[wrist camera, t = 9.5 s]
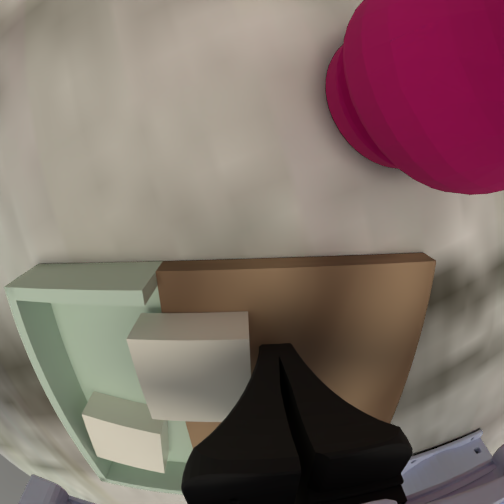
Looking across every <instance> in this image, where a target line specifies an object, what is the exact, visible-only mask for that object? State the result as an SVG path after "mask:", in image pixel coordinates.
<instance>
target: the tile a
mask: <svg viewBox="0 0 504 504" xmlns="http://www.w3.org/2000/svg"><path fill="white" fill-rule="evenodd" d="M82 417H83V420H84V423H85V426H86V429H87V431H88V434H89V437H90V440H91V442H92V445H93V448H94V450H95V453H96V455H97V457H100V458H104V459H107V460H110V461H114V462H117V463H121V464H125V465H129V466H133V467H137V468H141V469H145V470H150V471H155V472H159V473H165V469H166V464H167V459H168V454H169V438H168V421H167V420H157V419H152V417H151V414H150V411H149V409H148V406H147V404H143V403H139V402H134V401H130V400H126V399H122V398H118V397H114V396H110V395H106V394H102V393H99V392H95V391H93V393H92V395H91V397H90V399H89V401H88V403H87V404H86V406H85V408H84V410H83V412H82Z"/></svg>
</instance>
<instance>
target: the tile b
mask: <svg viewBox="0 0 504 504" xmlns="http://www.w3.org/2000/svg"><path fill="white" fill-rule="evenodd" d="M126 340H127V343H128V347H129V351H130V354H131V357H132V361H133V364H134V367H135V370H136V374H137V377H138V380H139V383H140V386H141V389H142V392H143V395H144V398H145V400H146V403H147V406H148V409H149V411H150V414H151V417H152V419H157V420H170V421H190V422H222V421H223V420H224V419H225V418H226V417H227V415H228V414H229V413H230V412H231V410H232V409H233V407H234V406H235V405H236V403H237V402H238V400H239V399H240V397H241V395H242V394H243V392H244V390H245V388H246V386H247V384H248V382H249V380H250V378H251V364H250V343H249V321H248V311H243V312H211V313H141V314H140V316H139V317H138V319H137V321H136V323H135V324H134V326H133V328H132V330H131V332H130V333H129V335H128V337H127V339H126Z"/></svg>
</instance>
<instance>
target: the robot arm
mask: <svg viewBox="0 0 504 504" xmlns="http://www.w3.org/2000/svg"><path fill="white" fill-rule="evenodd" d="M482 434H483V431H482V430H479V431H476V432H474V433H472V434H470V435H467V436H465V437H463V438H461V439H458V440H456V441H453V442H451V443H448V444H446V445H443V446H440V447H438V448H435V449H432V450H430V451H427V452H424V453H421V454H418V455H415V456H412V457H411V455H412V447H411V445H410V443H409V441H408V439H407V437H406V436H405V434H404V433H403V432H402V430H401V428H400V427H398V426H395V425H392V424H389V423H387V422H384V421H381V420H379V419H377V418H375V417H372V416H370V415H368V414H366V413H364V412H363V411H361V410H359V409H357V408H356V407H354V406H353V405H351V404H349V403H348V402H346V401H345V400H343V399H342V398H341V397H339V396H338V395H337V394H336V393H334V392H333V391H332V390H331V389H330V388H329V387H327V386H326V385H325V384H324V383H323V382H322V381H321V380H320V379H319V378H318V377H317V376H316V375H315V374H314V372H313V371H312V370H311V369H310V368H309V367H308V366H307V364H306V363H305V362H304V361H303V359H302V358H301V357H300V355H299V354H298V353H297V351H296V350H295V348H294V347H293V345H292V344H291V343H283V344H262V345H260V346H259V354H258V358H257V362H256V365H255V368H254V370H253V373H252V376H251V378H250V380H249V382H248V384H247V386H246V388H245V390H244V392H243V394H242V395H241V397H240V399H239V400H238V402H237V403H236V405H235V406H234V407H233V409H232V410H231V412H230V413H229V414H228V415H227V417H226V418H225V419H224V420H223V421H222V422H221V423H220V424H219V426H218V427H217V428H216V429H215V430H214V431H213V432H212V433H211V434H210V435H209V436H207V437H206V438H205V439H204V440H203V441H201V442H200V443H199V444H198V445H197V446H195V447H194V448H193V450H192V452H191V454H190V456H189V458H188V460H187V463H186V465H185V469H184V472H183V476H182V483H181V490H182V493H183V495H184V497H185V499H186V501H187V503H188V504H504V444H503V445H502V446H501V447H500V448H499V449H498V450H497V451H496V452H495V453H494V455H493V456H492V455H491V454H490V452H489V450H488V449H487V447H486V446H485V444H484V443H483V441H482V440H481V438H480V437H481V435H482ZM18 504H95V503H92V502H88V501H85V500H82V499H79V498H76V497H73V496H70V495H68V493H67V492H66V491H65V490H64V489H63V488H62V487H61V486H59V485H58V484H56V483H54V482H51V481H49V480H46V479H44V478H41V477H39V476H36V475H34V474H33V475H31V477H30V479H29V481H28V483H27V485H26V488H25V490H24V492H23V494H22V496H21V498H20V501H19V503H18Z"/></svg>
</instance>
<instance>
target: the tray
mask: <svg viewBox="0 0 504 504" xmlns="http://www.w3.org/2000/svg"><path fill="white" fill-rule="evenodd" d="M162 262H163V261H154V262H112V263H64V264H38V265H36V266H35V267H33V268H32V269H30V270H28V271H27V272H25V273H24V274H22V275H21V276H19V277H18V278H16V279H15V280H14V281H12V282H11V283H9V284H8V285H6V286H5V287H4V289H5V292H6V296H7V299H8V302H9V305H10V309H11V312H12V315H13V318H14V320H15V323H16V326H17V329H18V332H19V334H20V337H21V339H22V342H23V345H24V347H25V349H26V352H27V354H28V357H29V359H30V361H31V364H32V366H33V368H34V370H35V372H36V375H37V377H38V379H39V381H40V383H41V385H42V387H43V389H44V391H45V393H46V395H47V397H48V399H49V401H50V402H51V404H52V406H53V408H54V410H55V412H56V413H57V415H58V417H59V419H60V420H61V422H62V424H63V425H64V427H65V429H66V430H67V432H68V434H69V435H70V437H71V438H72V440H73V441H74V443H75V445H76V446H77V448H78V449H79V451H80V452H81V453H82V455H83V456H84V458H85V459H86V461H87V462H88V463H89V465H90V466H91V468H92V469H93V470H94V472H95V473H96V474H97V476H98V477H99V478H100V480H101V481H104V482H108V483H112V484H117V485H121V486H126V487H131V488H137V489H143V490H149V491H156V492H163V493H171V494H181V495H183V493H182V490H181V483H182V476H183V472H184V469H185V465H186V463H187V460H188V458H189V456H190V454H191V452H192V450H193V447H192V444H191V440H190V437H189V433H188V430H187V426H186V422H185V421H170V420H167V421H168V438H169V454H168V459H167V464H166V469H165V473H159V472H155V471H150V470H145V469H141V468H137V467H133V466H129V465H125V464H121V463H117V462H114V461H110V460H107V459H104V458H100V457H97V455H96V453H95V450H94V448H93V445H92V442H91V440H90V437H89V434H88V431H87V429H86V426H85V423H84V420H83V417H82V412H83V410H84V408H85V406H86V404H87V403H88V401H89V399H90V397H91V395H92V393H93V391H95V392H99V393H102V394H106V395H110V396H114V397H118V398H122V399H126V400H130V401H134V402H139V403H143V404H147V403H146V400H145V398H144V395H143V392H142V389H141V386H140V383H139V380H138V377H137V374H136V370H135V367H134V364H133V361H132V357H131V354H130V351H129V347H128V343H127V340H126V339H127V337H128V335H129V333H130V332H131V330H132V328H133V326H134V324H135V323H136V321H137V319H138V317H139V316H140V314H141V313H162V311H161V305H160V298H159V292H158V285H157V278H156V270H157V269H158V267H159V266H160V264H161V263H162Z"/></svg>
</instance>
